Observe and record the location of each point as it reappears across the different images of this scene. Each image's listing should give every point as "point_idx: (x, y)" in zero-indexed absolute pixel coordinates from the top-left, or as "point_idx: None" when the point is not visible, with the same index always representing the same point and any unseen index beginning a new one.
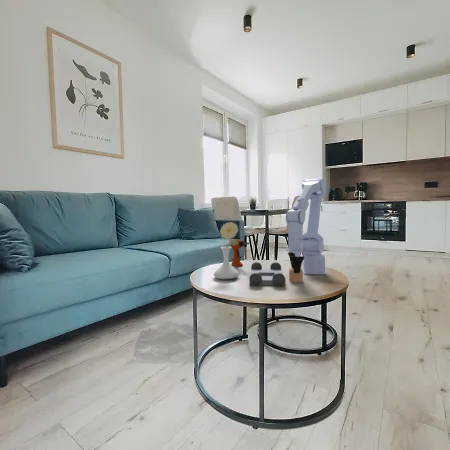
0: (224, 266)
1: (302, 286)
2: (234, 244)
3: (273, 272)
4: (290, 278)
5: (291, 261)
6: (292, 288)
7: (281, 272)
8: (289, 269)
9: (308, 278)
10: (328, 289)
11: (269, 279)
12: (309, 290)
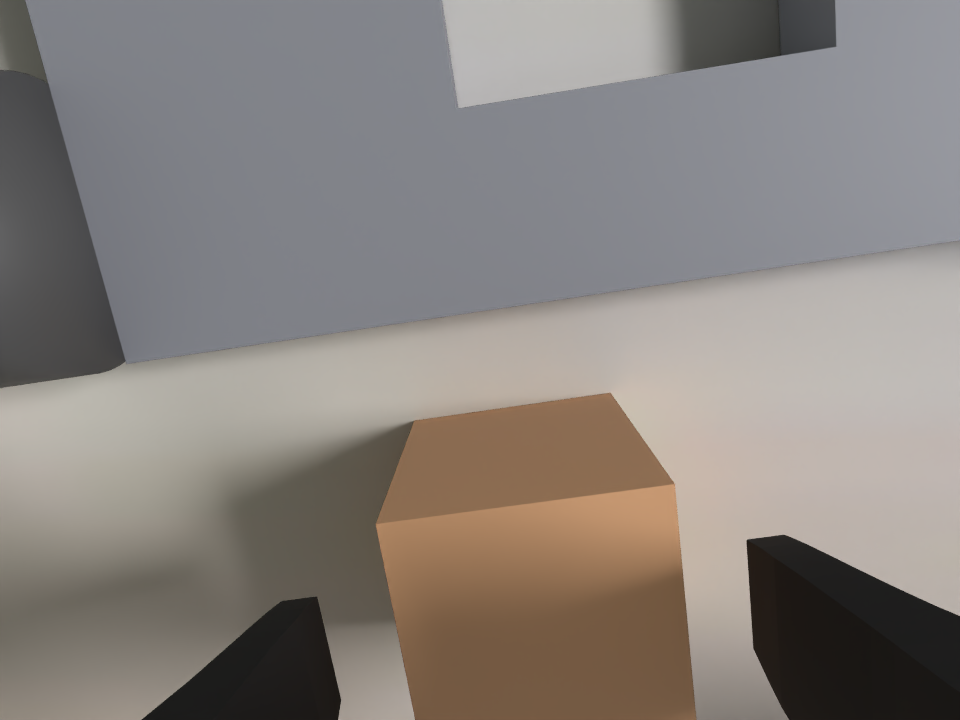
0: None
1: (200, 612)
2: None
3: (843, 18)
4: (403, 450)
5: (885, 667)
6: (34, 469)
7: (851, 232)
8: (559, 493)
9: (731, 703)
10: None
11: (87, 3)
12: (18, 699)
